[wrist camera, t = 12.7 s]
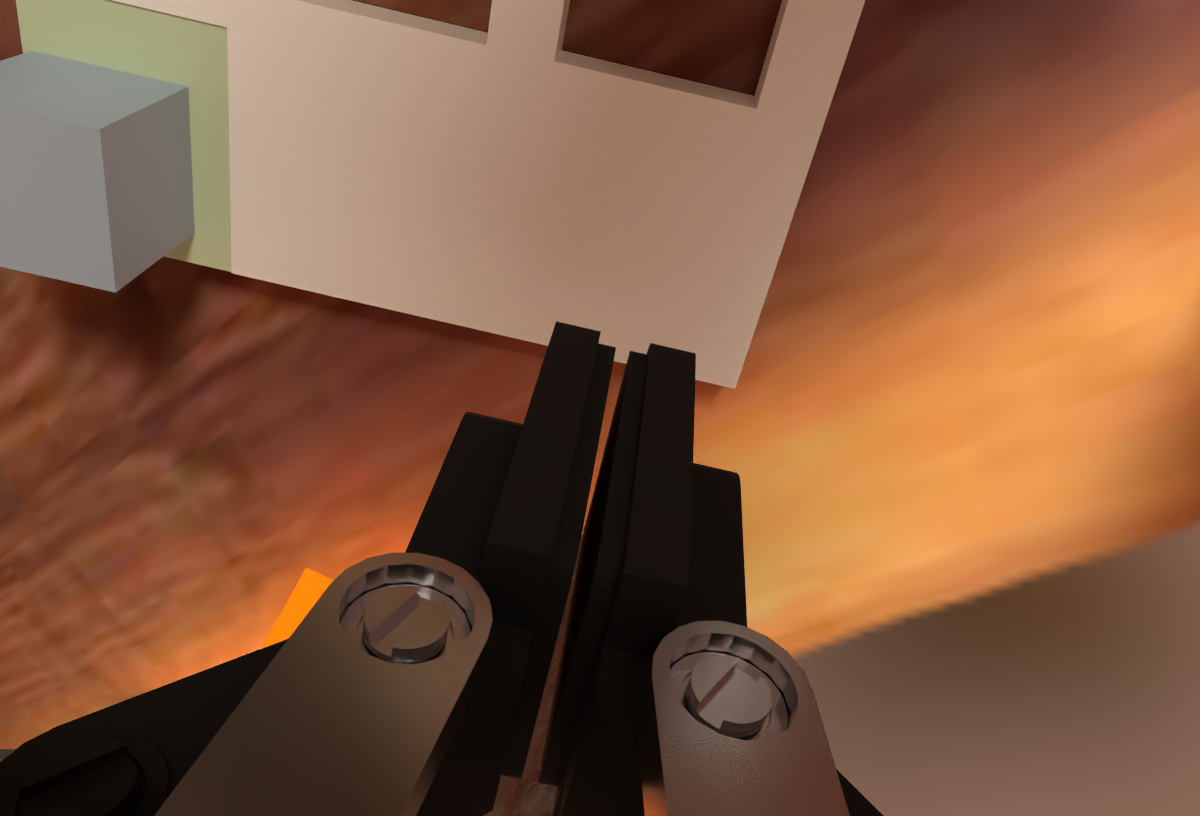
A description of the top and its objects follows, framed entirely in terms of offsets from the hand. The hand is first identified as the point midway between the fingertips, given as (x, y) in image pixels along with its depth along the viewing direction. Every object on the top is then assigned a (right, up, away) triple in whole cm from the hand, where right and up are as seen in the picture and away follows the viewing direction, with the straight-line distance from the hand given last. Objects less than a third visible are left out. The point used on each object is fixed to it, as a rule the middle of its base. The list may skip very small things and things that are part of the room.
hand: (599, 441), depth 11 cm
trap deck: (-7, +14, +24) cm, 29 cm away
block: (-19, +11, +25) cm, 34 cm away
